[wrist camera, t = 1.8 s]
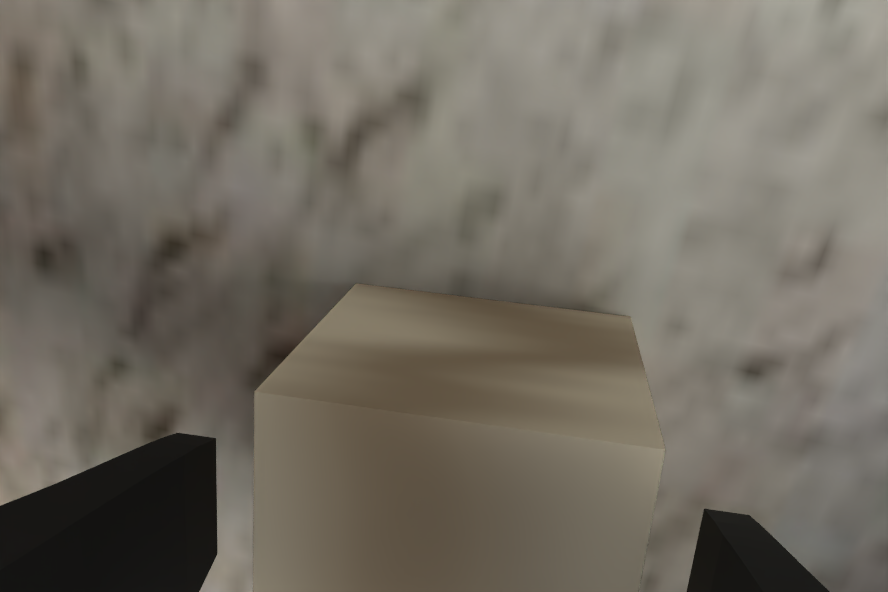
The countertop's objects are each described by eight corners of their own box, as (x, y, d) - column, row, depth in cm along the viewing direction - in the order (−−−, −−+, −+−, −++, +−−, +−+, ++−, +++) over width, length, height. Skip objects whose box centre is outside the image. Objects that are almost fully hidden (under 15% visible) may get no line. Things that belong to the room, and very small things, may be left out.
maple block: (629, 315, 14) (665, 449, 9) (591, 553, 15) (603, 777, 10) (357, 282, 14) (254, 391, 9) (345, 514, 16) (252, 708, 11)
